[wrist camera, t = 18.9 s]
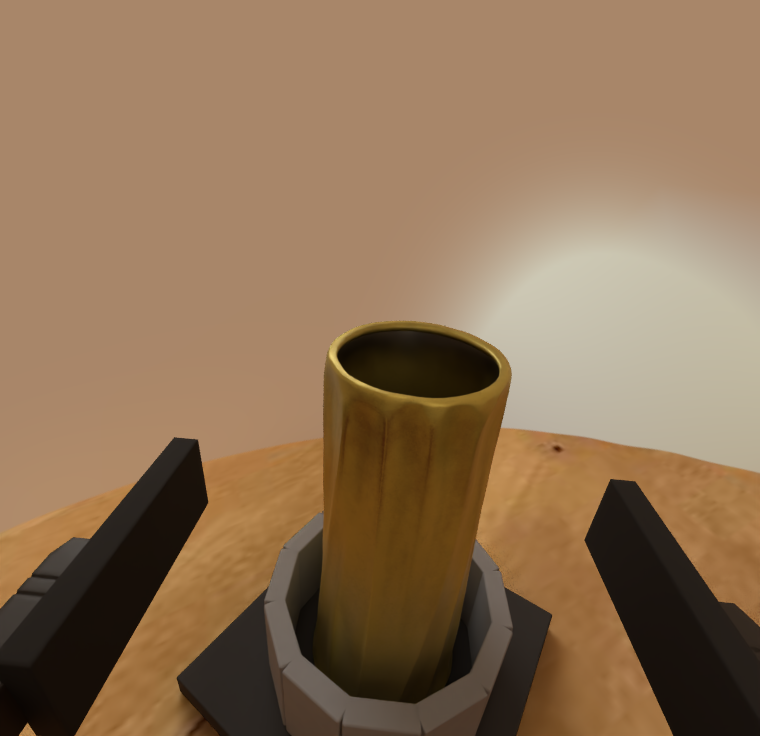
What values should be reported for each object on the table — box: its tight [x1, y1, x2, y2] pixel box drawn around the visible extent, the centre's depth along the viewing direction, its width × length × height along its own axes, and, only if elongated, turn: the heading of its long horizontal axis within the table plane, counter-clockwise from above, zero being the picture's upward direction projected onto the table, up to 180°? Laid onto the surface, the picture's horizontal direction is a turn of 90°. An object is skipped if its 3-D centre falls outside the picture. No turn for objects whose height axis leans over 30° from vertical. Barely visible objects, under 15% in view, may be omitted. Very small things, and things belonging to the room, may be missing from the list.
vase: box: [312, 321, 512, 704], centre depth 15 cm, size 6×6×14 cm
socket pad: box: [177, 511, 552, 736], centre depth 18 cm, size 12×12×5 cm
